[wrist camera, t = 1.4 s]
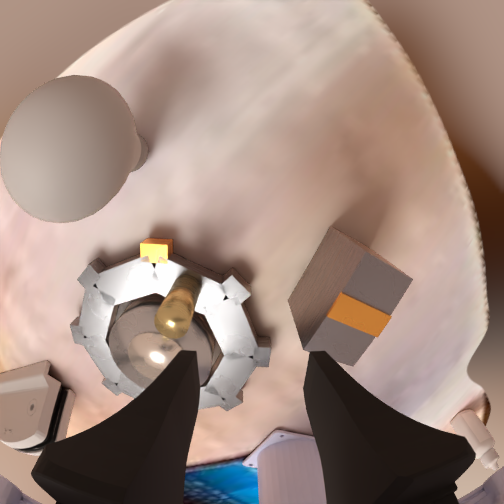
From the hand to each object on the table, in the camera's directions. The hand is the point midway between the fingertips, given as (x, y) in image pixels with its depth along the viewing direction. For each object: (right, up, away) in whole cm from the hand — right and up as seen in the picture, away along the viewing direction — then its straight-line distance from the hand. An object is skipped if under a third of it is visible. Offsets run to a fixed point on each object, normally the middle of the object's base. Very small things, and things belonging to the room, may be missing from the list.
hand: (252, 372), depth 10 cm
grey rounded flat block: (-27, -13, +13) cm, 33 cm away
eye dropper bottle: (+31, -20, +17) cm, 40 cm away
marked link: (+5, +3, +9) cm, 11 cm away
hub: (-7, -2, +10) cm, 12 cm away
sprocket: (-7, -2, +10) cm, 12 cm away
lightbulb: (-8, +11, +6) cm, 15 cm away
